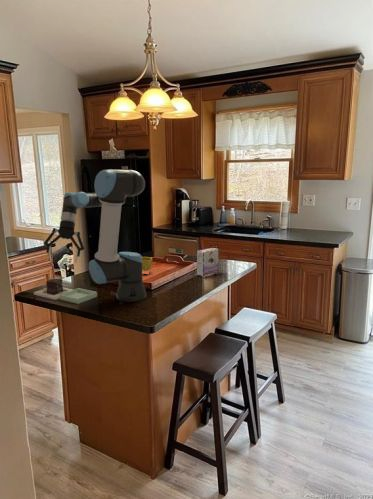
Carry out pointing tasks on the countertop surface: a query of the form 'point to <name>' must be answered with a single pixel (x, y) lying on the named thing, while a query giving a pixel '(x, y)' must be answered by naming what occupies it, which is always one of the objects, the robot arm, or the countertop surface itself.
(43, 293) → the socket block
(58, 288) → the box
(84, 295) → the tray
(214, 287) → the countertop surface
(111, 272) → the robot arm
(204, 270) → the candy box
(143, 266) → the plant pot
